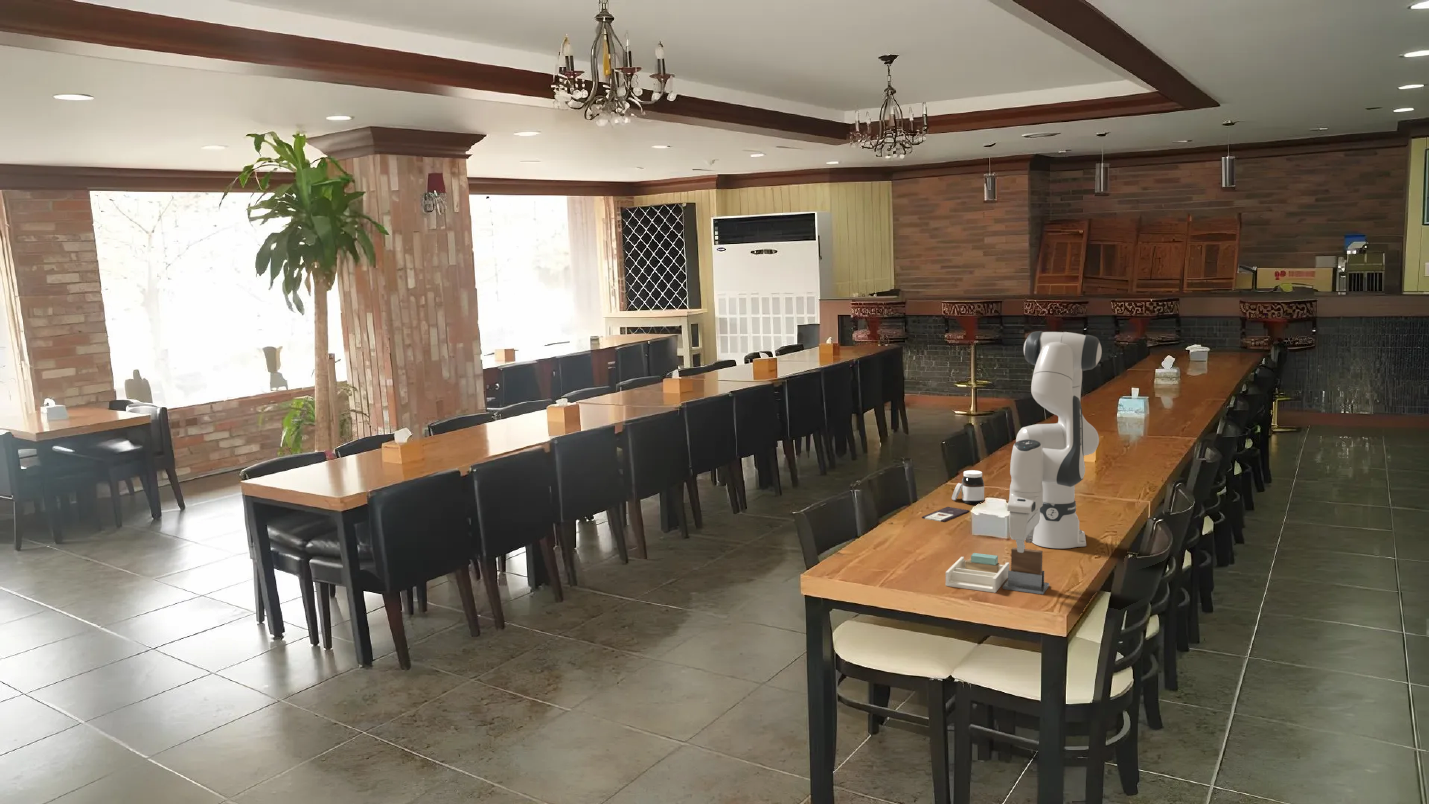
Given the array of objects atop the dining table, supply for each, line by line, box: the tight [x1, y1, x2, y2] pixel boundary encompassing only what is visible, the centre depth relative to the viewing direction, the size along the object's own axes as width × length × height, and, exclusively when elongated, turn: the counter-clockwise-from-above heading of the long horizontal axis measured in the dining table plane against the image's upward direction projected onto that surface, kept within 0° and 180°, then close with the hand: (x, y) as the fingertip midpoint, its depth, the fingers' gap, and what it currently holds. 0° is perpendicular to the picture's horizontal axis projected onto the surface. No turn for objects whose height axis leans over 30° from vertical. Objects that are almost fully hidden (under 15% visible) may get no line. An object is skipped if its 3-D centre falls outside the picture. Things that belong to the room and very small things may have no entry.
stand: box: [1002, 569, 1050, 595], centre depth 270 cm, size 8×11×5 cm
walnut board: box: [1010, 547, 1043, 586], centre depth 270 cm, size 2×8×10 cm, turn 60°
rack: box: [945, 556, 1010, 594], centre depth 277 cm, size 16×14×4 cm
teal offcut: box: [970, 552, 999, 565], centre depth 281 cm, size 3×7×2 cm, turn 60°
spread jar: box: [951, 469, 985, 505], centre depth 366 cm, size 12×11×12 cm
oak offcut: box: [966, 558, 1000, 573], centre depth 281 cm, size 3×9×3 cm, turn 60°
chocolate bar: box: [921, 506, 970, 523], centre depth 349 cm, size 9×1×18 cm
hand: (1025, 546), depth 270 cm, fingers open, 8 cm apart
